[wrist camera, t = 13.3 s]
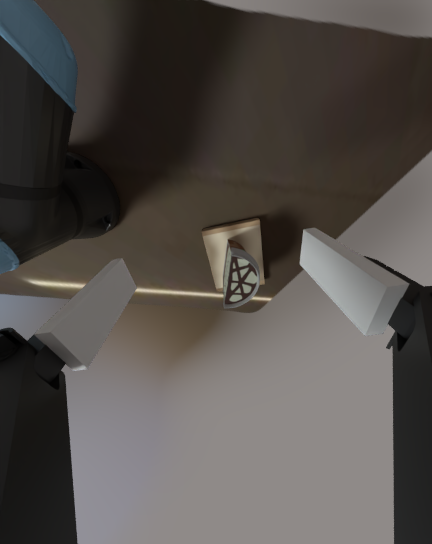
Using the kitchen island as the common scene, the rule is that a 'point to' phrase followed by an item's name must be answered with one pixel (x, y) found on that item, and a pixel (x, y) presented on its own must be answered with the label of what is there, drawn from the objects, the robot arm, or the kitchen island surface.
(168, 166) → the kitchen island surface
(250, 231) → the board
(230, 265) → the food container
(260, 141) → the kitchen island surface
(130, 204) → the kitchen island surface
